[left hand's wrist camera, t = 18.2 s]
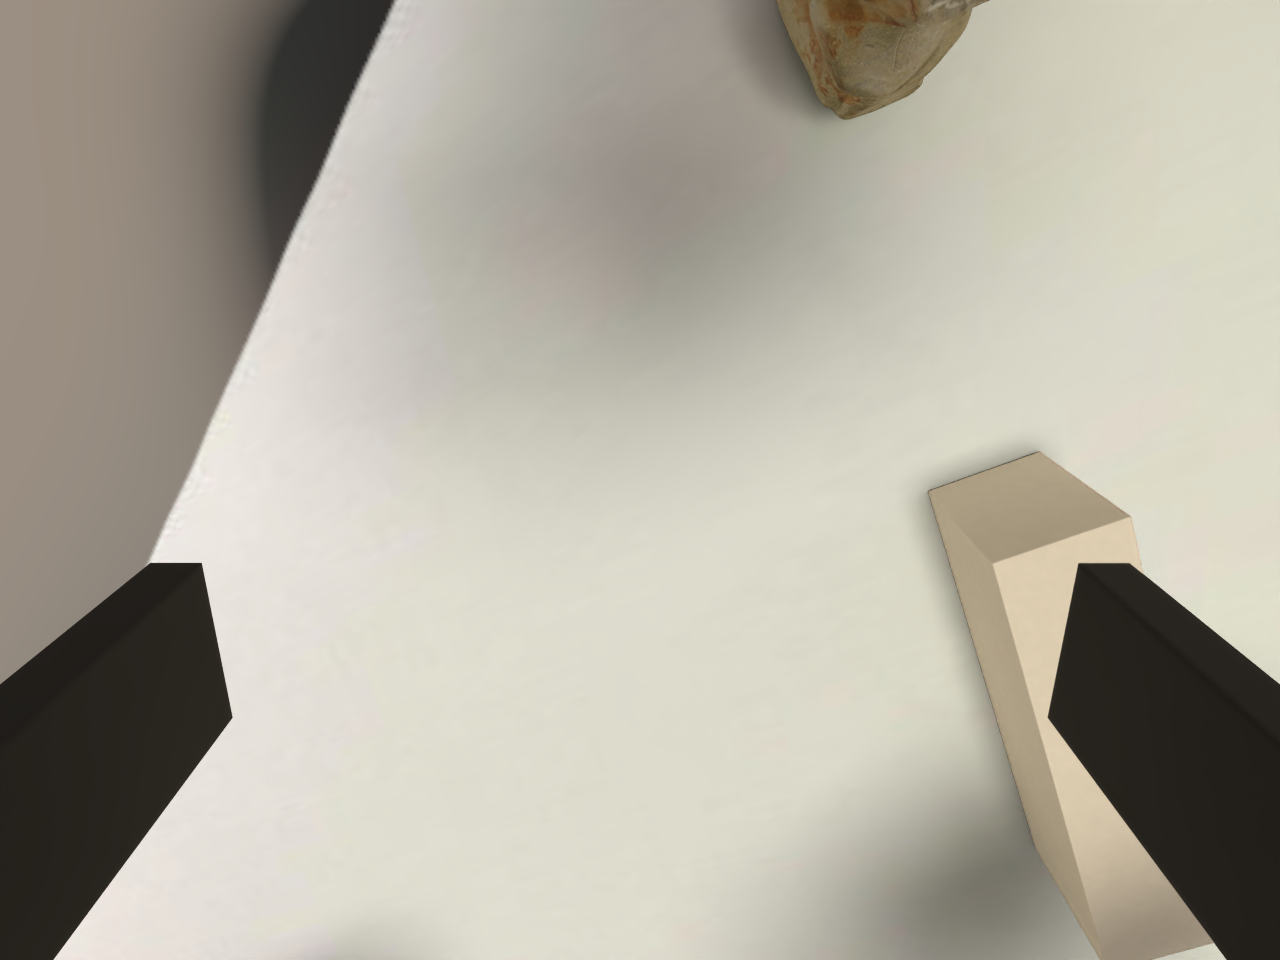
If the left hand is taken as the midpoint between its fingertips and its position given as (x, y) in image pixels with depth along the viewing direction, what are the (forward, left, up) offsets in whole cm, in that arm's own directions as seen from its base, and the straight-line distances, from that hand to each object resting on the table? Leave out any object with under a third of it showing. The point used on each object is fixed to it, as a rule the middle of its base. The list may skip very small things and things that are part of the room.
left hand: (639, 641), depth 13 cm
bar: (+6, +29, -30) cm, 42 cm away
